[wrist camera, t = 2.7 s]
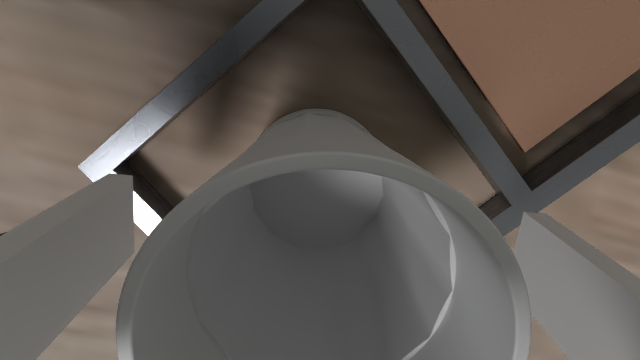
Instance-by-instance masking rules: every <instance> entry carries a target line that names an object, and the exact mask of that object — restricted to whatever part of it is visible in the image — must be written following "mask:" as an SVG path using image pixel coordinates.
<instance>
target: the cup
mask: <svg viewBox="0 0 640 360" xmlns="http://www.w3.org/2000/svg"><path fill="white" fill-rule="evenodd" d="M530 341H531V309H530V302H529V296H528V291H527V287H526V284H525V280H524V277H523V274H522V271H521V269H520V266H519V264H518V262H517V259H516V258H515V256H514V254H513V252H512V250H511V248H510V246H509V245H508V243H507V241H506V240H505V238H504V237H503V235H502V234H501V233H500V231H499V230H498V229H497V227H496V226H495V225H494V224H493V222H492V221H491V220H490V219H489V218H488V217H487V216H486V215H485V214H484V213H483V212H482V211H481V210H480V209H479V208H478V207H477V206H476V205H475V204H474V203H473V202H472V201H470V200H469V199H468V198H467V197H465V196H464V195H463V194H462V193H460V192H459V191H457V190H456V189H454V188H453V187H451V186H450V185H448V184H447V183H445V182H444V181H442V180H440V179H439V178H437V177H436V176H434V175H433V174H431V173H429V172H428V171H426V170H425V169H423V168H421V167H420V166H418V165H417V164H415V163H413V162H412V161H410V160H409V159H407V158H406V157H404V156H402V155H401V154H399V153H397V152H395V151H394V150H392V149H390V148H389V147H387V146H386V145H384V144H383V143H382V142H380V141H379V140H378V139H376V138H375V137H373V136H372V135H371V134H370V132H369V131H368V130H367V129H366V128H365V127H364V126H363V125H361V124H360V123H359V122H358V121H356V120H355V119H353V118H351V117H349V116H347V115H345V114H343V113H340V112H337V111H334V110H329V109H319V108H314V109H304V110H299V111H296V112H293V113H290V114H288V115H285V116H283V117H282V118H280V119H278V120H277V121H275V122H274V123H273V124H271V125H270V126H269V127H268V128H267V129H266V130H265V131H264V132H263V133H262V134H261V136H260V137H259V138H258V140H257V141H256V142H255V143H254V144H253V145H252V146H251V147H250V148H248V149H247V150H246V151H245V152H244V153H243V154H242V155H240V156H239V157H238V158H237V159H235V160H234V161H233V162H231V163H230V164H228V165H227V166H226V167H225V168H223V169H222V170H221V171H220V172H218V173H217V174H216V175H214V176H213V177H212V178H211V179H209V180H208V181H207V182H206V183H204V184H203V185H202V186H201V187H199V188H198V189H197V190H195V191H194V192H193V193H192V194H190V195H189V196H188V197H187V198H185V199H184V200H183V201H182V202H180V203H179V204H178V205H177V206H176V207H175V208H173V209H172V210H171V211H170V212H169V213H168V214H167V215H166V216H165V217H164V218H163V219H162V220H161V221H160V223H159V224H158V225H157V226H156V227H155V228H154V230H153V231H152V232H151V233H150V235H149V236H148V238H147V239H146V240H145V242H144V243H143V245H142V246H141V248H140V250H139V251H138V253H137V255H136V257H135V259H134V260H133V262H132V265H131V267H130V269H129V271H128V274H127V276H126V279H125V282H124V284H123V288H122V291H121V295H120V299H119V304H118V310H117V319H116V346H117V354H118V360H527V359H528V354H529V349H530Z"/></svg>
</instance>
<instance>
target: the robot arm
mask: <svg viewBox="0 0 640 360" xmlns="http://www.w3.org/2000/svg"><path fill="white" fill-rule="evenodd" d="M133 253H134V210H133V176H132V175H121V174H110V173H109V174H107V175H106V176H104V177H102V178H100V179H99V180H97V181H95V182H93V183H92V184H90V185H88V186H87V187H85V188H83V189H81V190H80V191H78V192H76V193H74V194H73V195H71V196H69V197H67V198H66V199H64V200H62V201H60V202H59V203H57V204H55V205H54V206H52V207H50V208H48V209H47V210H45V211H43V212H41V213H40V214H38V215H36V216H34V217H33V218H31V219H29V220H27V221H26V222H24V223H22V224H20V225H19V226H17V227H15V228H14V229H12V230H10V231H8V232H5V233H2V234H0V360H36V359H37V358H38V357H39V355H40V354H41V353H42V352H43V351H44V350H45V349H46V348H47V347H48V346H49V345H50V343H51V342H52V341H53V340H54V339H55V338H56V337H57V336H58V335H59V334H60V333H61V331H62V330H63V329H64V328H65V327H66V326H67V325H68V324H69V323H70V322H71V321H72V320H73V318H74V317H75V316H76V315H77V314H78V313H79V312H80V311H81V310H82V309H83V308H84V306H85V305H86V304H87V303H88V302H89V301H90V300H91V299H92V298H93V297H94V296H95V294H96V293H97V292H98V291H99V290H100V289H101V288H102V287H103V286H104V285H105V284H106V282H107V281H108V280H109V279H110V278H111V277H112V276H113V275H114V274H115V273H116V272H117V270H118V269H119V268H120V267H121V266H122V265H123V264H124V263H125V262H126V261H127V260H128V258H129V257H130V256H131V255H132V254H133ZM513 254H514V256H515V258H516V259H517V262H518V264H519V266H520V269H521V271H522V274H523V277H524V280H525V284H526V287H527V291H528V296H529V302H530V309H531V315H532V316H533V317H534V318H535V319H536V321H537V322H538V323H539V324H540V325H541V327H542V328H543V329H544V330H545V331H546V333H547V334H548V335H549V336H550V337H551V339H552V340H553V341H554V342H555V344H556V345H557V346H558V347H559V348H560V350H561V351H562V352H563V353H564V354H565V356H566V357H567V358H568V359H569V360H640V279H639V278H638V277H637V276H635V275H634V274H632V273H631V272H629V271H628V270H626V269H625V268H624V267H622V266H621V265H619V264H618V263H616V262H615V261H613V260H612V259H611V258H609V257H608V256H606V255H605V254H603V253H602V252H600V251H599V250H597V249H596V248H595V247H593V246H592V245H590V244H589V243H587V242H586V241H584V240H583V239H582V238H580V237H579V236H577V235H576V234H574V233H573V232H571V231H570V230H568V229H567V228H566V227H564V226H563V225H561V224H560V223H558V222H557V221H555V220H554V219H553V218H551V217H550V216H548V215H547V214H543V213H532V212H523V216H522V221H521V225H520V229H519V233H518V237H517V241H516V245H515V249H514V253H513Z"/></svg>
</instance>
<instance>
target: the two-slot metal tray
mask: <svg viewBox="0 0 640 360" xmlns="http://www.w3.org/2000/svg"><path fill="white" fill-rule="evenodd" d="M308 1H309V0H262V1H261V2H260V3H258V4H257V5H256V6H255V7H254V8H253V9H252V10H251V11H250V12H249V13H247V14H246V15H245V16H244V17H243V18H242V19H241V20H240V21H239V22H237V23H236V24H235V25H234V26H233V27H232V28H231V29H230V30H229V31H228V32H226V33H225V34H224V35H223V36H222V37H221V38H220V39H219V40H218V41H216V42H215V43H214V44H213V45H212V46H211V47H210V48H209V49H208V50H206V51H205V52H204V53H203V54H202V55H201V56H200V57H199V58H198V59H197V60H195V61H194V62H193V63H192V64H191V65H190V66H189V67H188V68H187V69H185V70H184V71H183V72H182V73H181V74H180V75H179V76H178V77H177V78H175V79H174V80H173V81H172V82H171V83H170V84H169V85H168V86H167V87H166V88H164V89H163V90H162V91H161V92H160V93H159V94H158V95H157V96H156V97H154V98H153V99H152V100H151V101H150V102H149V103H148V104H147V105H146V106H144V107H143V108H142V109H141V110H140V111H139V112H138V113H137V114H136V115H135V116H133V117H132V118H131V119H130V120H129V121H128V122H127V123H126V124H125V125H123V126H122V127H121V128H120V129H119V130H118V131H117V132H116V133H115V134H113V135H112V136H111V137H110V138H109V139H108V140H107V141H106V142H105V143H104V144H102V145H101V146H100V147H99V148H98V149H97V150H96V151H95V152H94V153H92V154H91V155H90V156H89V157H88V158H87V159H86V160H85V161H84V162H83V163H81V164H80V165H79V166H78V168H79V169H80V170H81V171H82V172H83V173H84V174H85V175H86V176H87V177H88V178H90V179H91V180H92V181H93V182H95V181H97V180H99V179H100V178H102V177H104V176H106V175H107V174H109V173H110V174H121V175H132V176H133V210H134V222H135V223H136V224H137V225H138V226H139V227H140V228H141V229H142V230H143V231H144V232H145V233H146V234H147V235H148V236H149V235H150V233H151V232H152V231H153V230H154V228H155V227H156V226H157V225H158V224H159V223H160V221H161V220H162V219H163V218H164V217H165V216H166V215H167V214H168V213H169V212H170V211H171V210H172V209H173V207H172V206H171V205H170V204H169V203H168V202H167V201H166V200H165V199H164V198H163V197H162V196H161V195H160V194H159V193H158V192H157V191H156V190H155V189H154V188H153V187H152V186H151V185H150V184H149V183H148V182H147V181H146V180H145V179H144V178H143V177H142V176H141V175H140V174H139V173H138V172H137V171H136V170H135V169H134V168H133V166H132V165H131V164H130V163H129V162H128V160H129V159H130V158H131V157H132V156H134V155H135V154H136V153H137V152H138V151H139V150H140V149H141V148H143V147H144V146H145V145H146V144H147V143H148V142H149V141H151V140H152V139H153V138H154V137H155V136H156V135H157V134H158V133H160V132H161V131H162V130H163V129H164V128H165V127H166V126H168V125H169V124H170V123H171V122H172V121H173V120H174V119H175V118H177V117H178V116H179V115H180V114H181V113H182V112H183V111H185V110H186V109H187V108H188V107H189V106H190V105H191V104H192V103H194V102H195V101H196V100H197V99H198V98H199V97H200V96H202V95H203V94H204V93H205V92H206V91H207V90H208V89H209V88H211V87H212V86H213V85H214V84H215V83H216V82H217V81H219V80H220V79H221V78H222V77H223V76H224V75H225V74H226V73H228V72H229V71H230V70H231V69H232V68H233V67H234V66H236V65H237V64H238V63H239V62H240V61H241V60H242V59H243V58H245V57H246V56H247V55H248V54H249V53H250V52H251V51H253V50H254V49H255V48H256V47H257V46H258V45H259V44H260V43H262V42H263V41H264V40H265V39H266V38H267V37H268V36H270V35H271V34H272V33H273V32H274V31H275V30H276V29H277V28H279V27H280V26H281V25H282V24H283V23H284V22H285V21H287V20H288V19H289V18H290V17H291V16H292V15H293V14H294V13H296V12H297V11H298V10H299V9H300V8H301V7H302V6H304V5H305V4H306V3H307V2H308ZM355 1H356V2H357V4H358V5H359V6H360V8H361V9H362V11H363V12H364V13H365V15H366V16H367V17H368V19H369V20H370V21H371V23H372V24H373V25H374V27H375V28H376V30H377V31H378V32H379V34H380V35H381V36H382V38H383V39H384V40H385V42H386V43H387V45H388V46H389V47H390V49H391V50H392V51H393V53H394V54H395V55H396V57H397V58H398V59H399V61H400V62H401V64H402V65H403V66H404V68H405V69H406V70H407V72H408V73H409V74H410V76H411V77H412V79H413V80H414V81H415V83H416V84H417V85H418V87H419V88H420V89H421V91H422V92H423V93H424V95H425V96H426V98H427V99H428V100H429V102H430V103H431V104H432V106H433V107H434V108H435V110H436V111H437V113H438V114H439V115H440V117H441V118H442V119H443V121H444V122H445V123H446V125H447V126H448V128H449V129H450V130H451V132H452V133H453V134H454V136H455V137H456V138H457V140H458V141H459V142H460V144H461V145H462V147H463V148H464V149H465V151H466V152H467V153H468V155H469V156H470V157H471V159H472V160H473V162H474V163H475V164H476V166H477V167H478V168H479V170H480V171H481V172H482V174H483V175H484V176H485V178H486V179H487V181H488V182H489V183H490V185H491V186H492V187H493V189H494V190H495V191H496V193H497V195H496V196H495V197H493V198H492V199H491V200H489V201H488V202H486V203H485V204H484V205H482V206H481V207H479V209H480V210H481V211H482V212H483V213H484V214H485V215H486V216H487V217H488V218H489V219H490V220H491V221H492V222H493V224H494V225H495V226H496V227H497V229H498V230H499V231H500V233H501V234H502V235H503V236H505V235H506V234H507V233H509V232H510V231H512V230H513V229H515V228H516V227H518V226H519V225H520V224H521V221H522V216H523V212H532V213H538V212H539V211H540V210H542V209H543V208H545V207H546V206H548V205H549V204H550V203H552V202H553V201H555V200H556V199H558V198H559V197H560V196H562V195H563V194H565V193H566V192H568V191H569V190H570V189H572V188H573V187H575V186H576V185H578V184H579V183H580V182H582V181H583V180H585V179H586V178H588V177H589V176H590V175H592V174H593V173H595V172H596V171H598V170H599V169H600V168H602V167H603V166H605V165H606V164H608V163H609V162H610V161H612V160H613V159H615V158H616V157H618V156H619V155H620V154H622V153H623V152H625V151H626V150H628V149H629V148H630V147H632V146H633V145H635V144H636V143H638V142H639V141H640V92H639V93H638V94H636V95H635V96H634V97H632V98H631V99H629V100H628V101H627V102H625V103H624V104H622V105H621V106H620V107H618V108H617V109H615V110H614V111H613V112H611V113H610V114H609V115H607V116H606V117H604V118H603V119H602V120H600V121H599V122H597V123H596V124H595V125H593V126H592V127H591V128H589V129H588V130H586V131H585V132H584V133H582V134H581V135H579V136H578V137H577V138H575V139H574V140H572V141H571V142H570V143H568V144H567V145H566V146H564V147H563V148H561V149H560V150H559V151H557V152H556V153H554V154H553V155H552V156H550V157H549V158H547V159H546V160H545V161H543V162H542V163H541V164H539V165H538V166H536V167H535V168H534V169H532V170H531V171H529V172H528V173H527V174H525V175H524V176H522V177H521V176H520V174H519V173H518V171H517V170H516V168H515V167H514V166H513V164H512V163H511V161H510V160H509V159H508V157H507V156H506V154H505V153H504V152H503V150H502V149H501V147H500V146H499V144H498V143H497V142H496V140H495V139H494V137H493V136H492V135H491V133H490V132H489V130H488V129H487V128H486V126H485V125H484V123H483V122H482V120H481V119H480V118H479V116H478V115H477V113H476V112H475V111H474V109H473V108H472V106H471V105H470V104H469V102H468V101H467V99H466V98H465V96H464V95H463V94H462V92H461V91H460V89H459V88H458V87H457V85H456V84H455V82H454V81H453V80H452V78H451V77H450V75H449V74H448V72H447V71H446V70H445V68H444V67H443V65H442V64H441V63H440V61H439V60H438V58H437V57H436V56H435V54H434V53H433V51H432V50H431V48H430V47H429V46H428V44H427V43H426V41H425V40H424V39H423V37H422V36H421V34H420V33H419V32H418V30H417V29H416V27H415V26H414V24H413V23H412V22H411V20H410V19H409V17H408V16H407V15H406V13H405V12H404V10H403V9H402V8H401V6H400V5H399V3H398V2H397V0H355ZM418 1H419V2H420V4H421V5H422V7H423V8H424V10H425V11H426V13H427V14H428V15H429V17H430V18H431V20H432V21H433V23H434V24H435V26H436V27H437V28H438V30H439V31H440V33H441V34H442V36H443V37H444V38H445V40H446V41H447V43H448V44H449V46H450V47H451V49H452V50H453V51H454V53H455V54H456V56H457V57H458V59H459V60H460V62H461V63H462V64H463V66H464V67H465V69H466V70H467V72H468V73H469V74H470V76H471V77H472V79H473V80H474V82H475V83H476V85H477V86H478V87H479V89H480V90H481V92H482V93H483V95H484V96H485V98H486V99H487V100H488V102H489V103H490V105H491V106H492V108H493V109H494V111H495V112H496V113H497V115H498V116H499V118H500V119H501V121H502V122H503V123H504V125H505V126H506V128H507V129H508V131H509V132H510V134H511V135H512V136H513V138H514V139H515V141H516V142H517V144H518V145H519V147H520V148H521V149H522V151H523V152H526V151H528V150H529V149H531V148H532V147H533V146H535V145H536V144H537V143H539V142H540V141H541V140H543V139H544V138H546V137H547V136H548V135H550V134H551V133H552V132H554V131H555V130H557V129H558V128H559V127H561V126H562V125H563V124H565V123H566V122H568V121H569V120H570V119H572V118H573V117H574V116H576V115H577V114H578V113H580V112H581V111H583V110H584V109H585V108H587V107H588V106H589V105H591V104H592V103H594V102H595V101H596V100H598V99H599V98H600V97H602V96H603V95H605V94H606V93H607V92H609V91H610V90H611V89H613V88H614V87H615V86H617V85H618V84H620V83H621V82H622V81H624V80H625V79H626V78H628V77H629V76H631V75H632V74H633V73H635V72H636V71H637V70H639V69H640V0H418Z"/></svg>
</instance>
